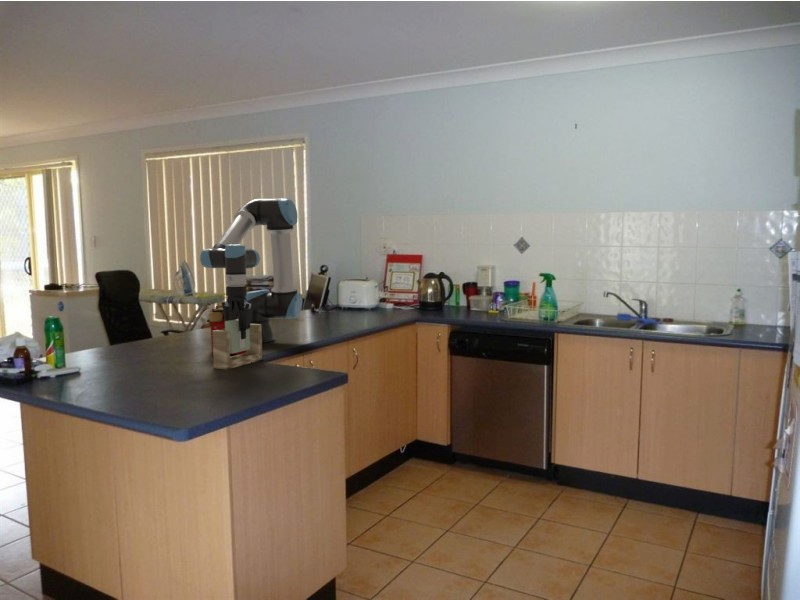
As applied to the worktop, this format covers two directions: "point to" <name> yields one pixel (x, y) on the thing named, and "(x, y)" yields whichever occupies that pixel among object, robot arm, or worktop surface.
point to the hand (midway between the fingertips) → (238, 346)
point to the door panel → (236, 336)
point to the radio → (218, 323)
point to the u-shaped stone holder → (252, 355)
